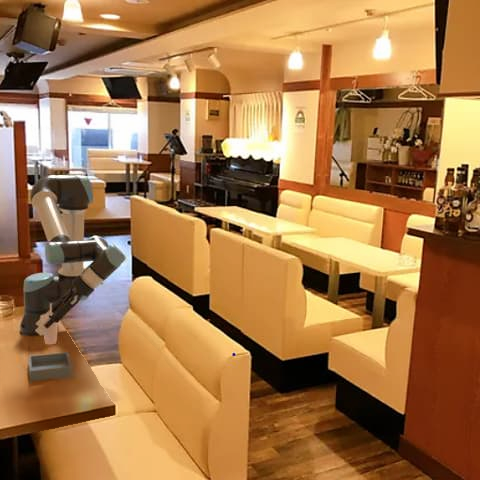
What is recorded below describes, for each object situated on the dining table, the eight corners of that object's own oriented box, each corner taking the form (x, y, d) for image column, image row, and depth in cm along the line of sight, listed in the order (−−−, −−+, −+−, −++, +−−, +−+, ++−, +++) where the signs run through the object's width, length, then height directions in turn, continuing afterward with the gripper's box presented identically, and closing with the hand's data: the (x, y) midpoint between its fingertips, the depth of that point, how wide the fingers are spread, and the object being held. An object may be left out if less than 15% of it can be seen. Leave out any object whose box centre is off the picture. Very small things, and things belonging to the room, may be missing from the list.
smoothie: (49, 346, 191) (48, 306, 190) (36, 343, 195) (35, 303, 193) (64, 341, 197) (63, 302, 195) (51, 338, 200) (50, 299, 198)
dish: (28, 365, 202) (28, 355, 201) (68, 361, 207) (68, 351, 207) (29, 381, 190) (29, 371, 189) (72, 376, 195) (72, 366, 194)
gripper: (97, 296, 189) (46, 346, 187) (93, 281, 207) (47, 326, 205) (80, 282, 186) (29, 332, 184) (78, 267, 204) (31, 313, 202)
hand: (38, 329), depth 194 cm, fingers closed on smoothie, 6 cm apart
